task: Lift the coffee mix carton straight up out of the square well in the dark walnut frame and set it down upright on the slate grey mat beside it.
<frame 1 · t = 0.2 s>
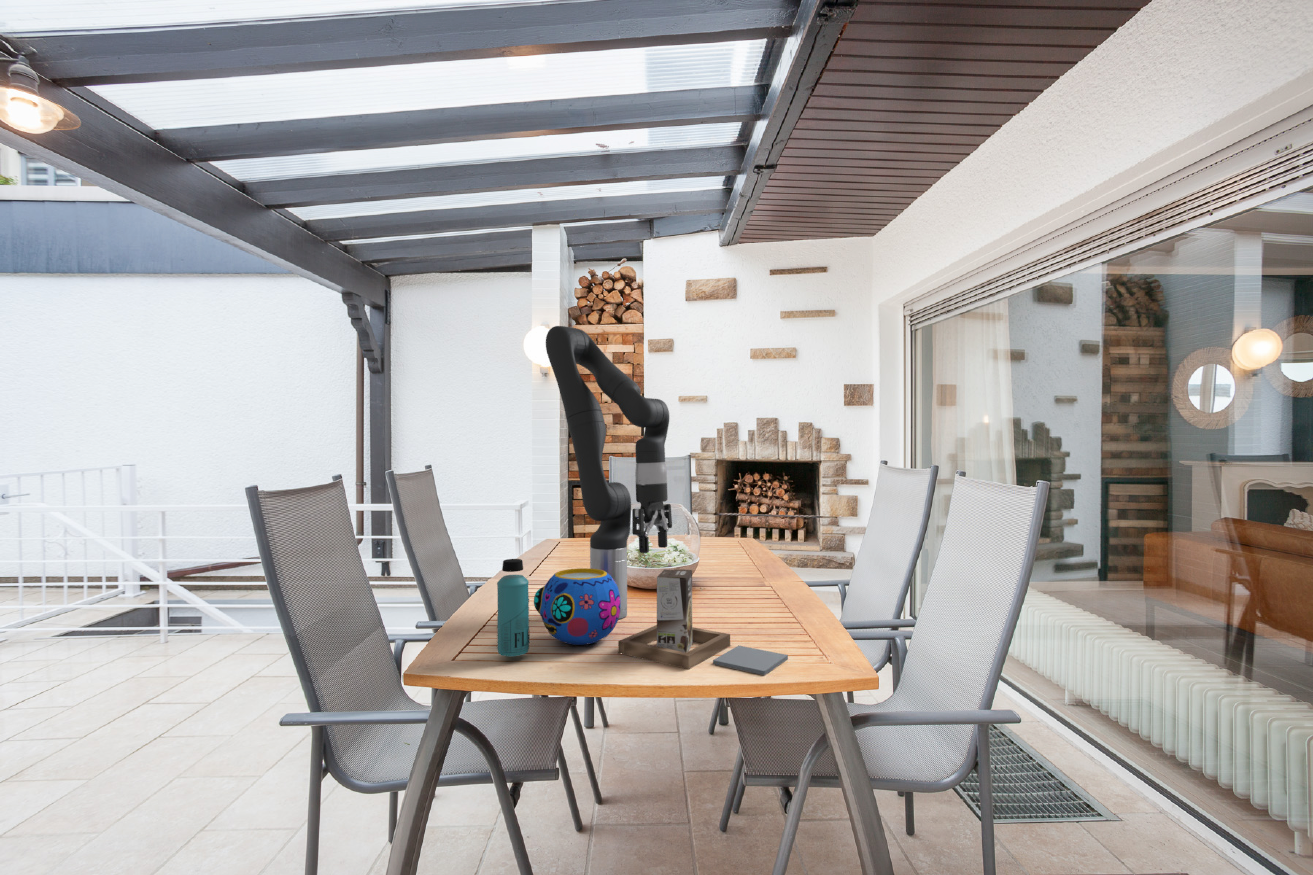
hand: (653, 549, 155), 18 cm above the table, tool pointing down, fingers open, 8 cm apart
slate mat: (750, 661, 129), on the table
coffee box: (675, 650, 137), resting in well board
ceramic pot: (580, 642, 142), on the table
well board: (675, 649, 137), on the table
beverage bottle: (513, 659, 131), on the table
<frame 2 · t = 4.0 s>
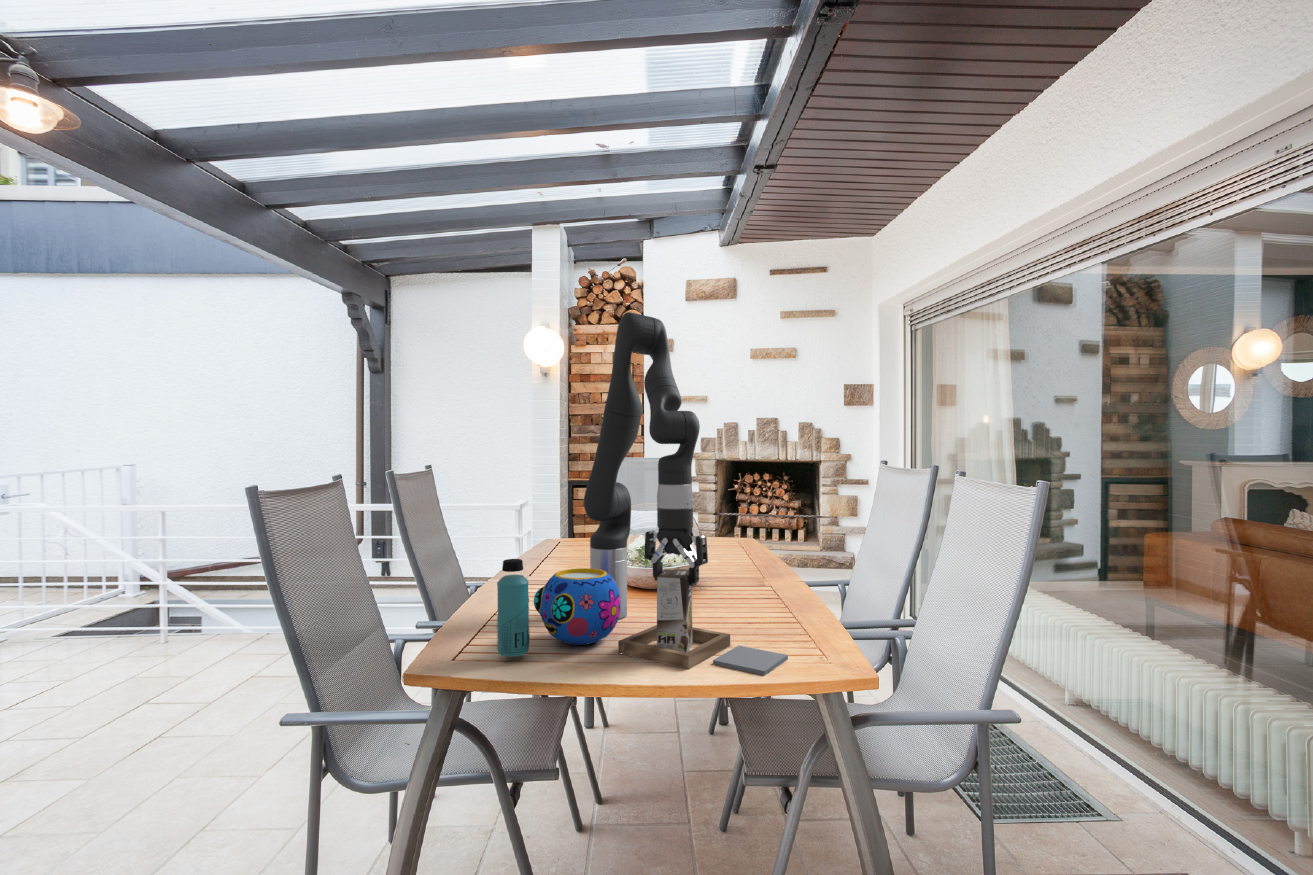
hand: (675, 582, 137), 14 cm above the table, tool pointing down, fingers open, 8 cm apart
coffee box: (675, 650, 137), resting in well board, touching gripper
everything else where it was.
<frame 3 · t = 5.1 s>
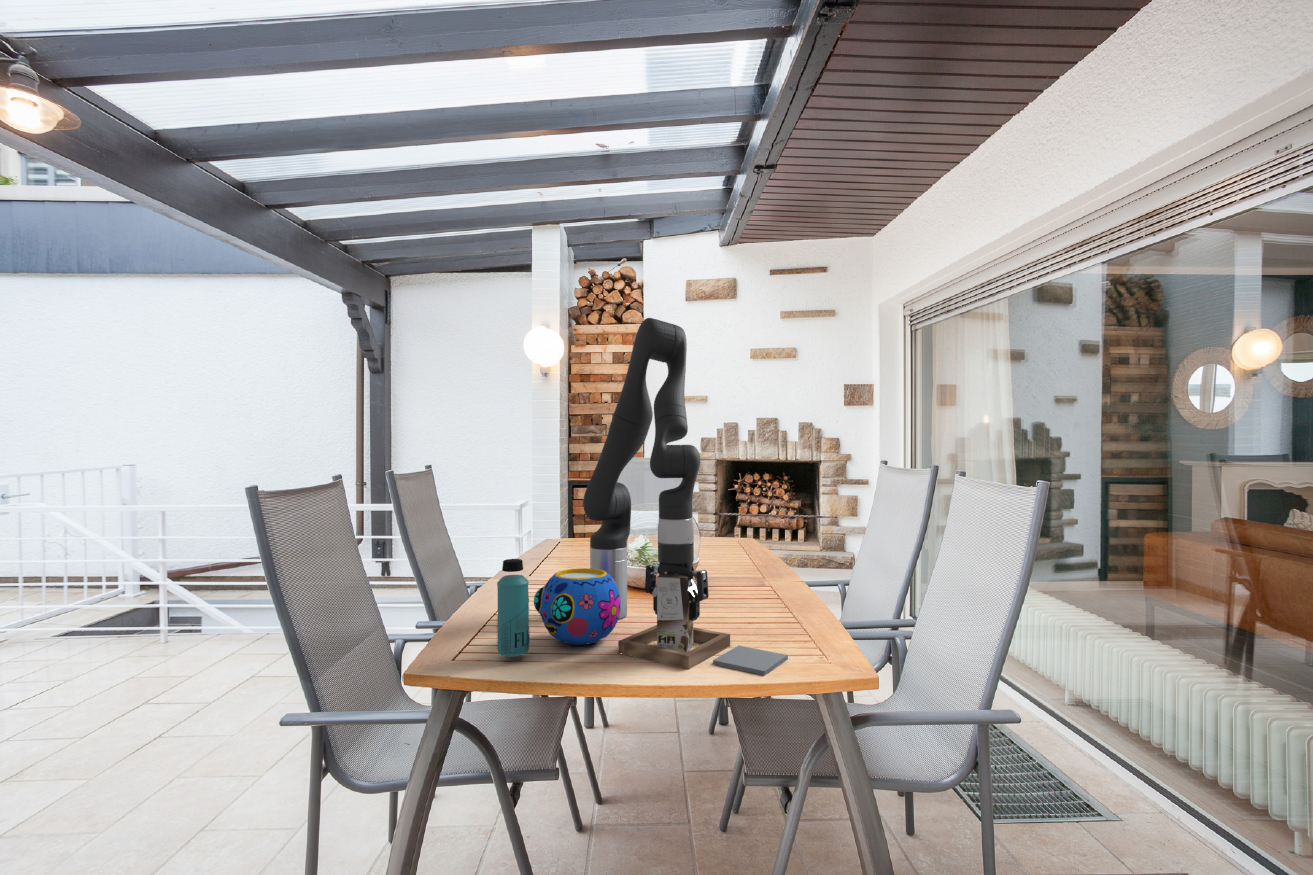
hand: (676, 616, 137), 7 cm above the table, tool pointing down, fingers open, 8 cm apart
nothing on the table moved.
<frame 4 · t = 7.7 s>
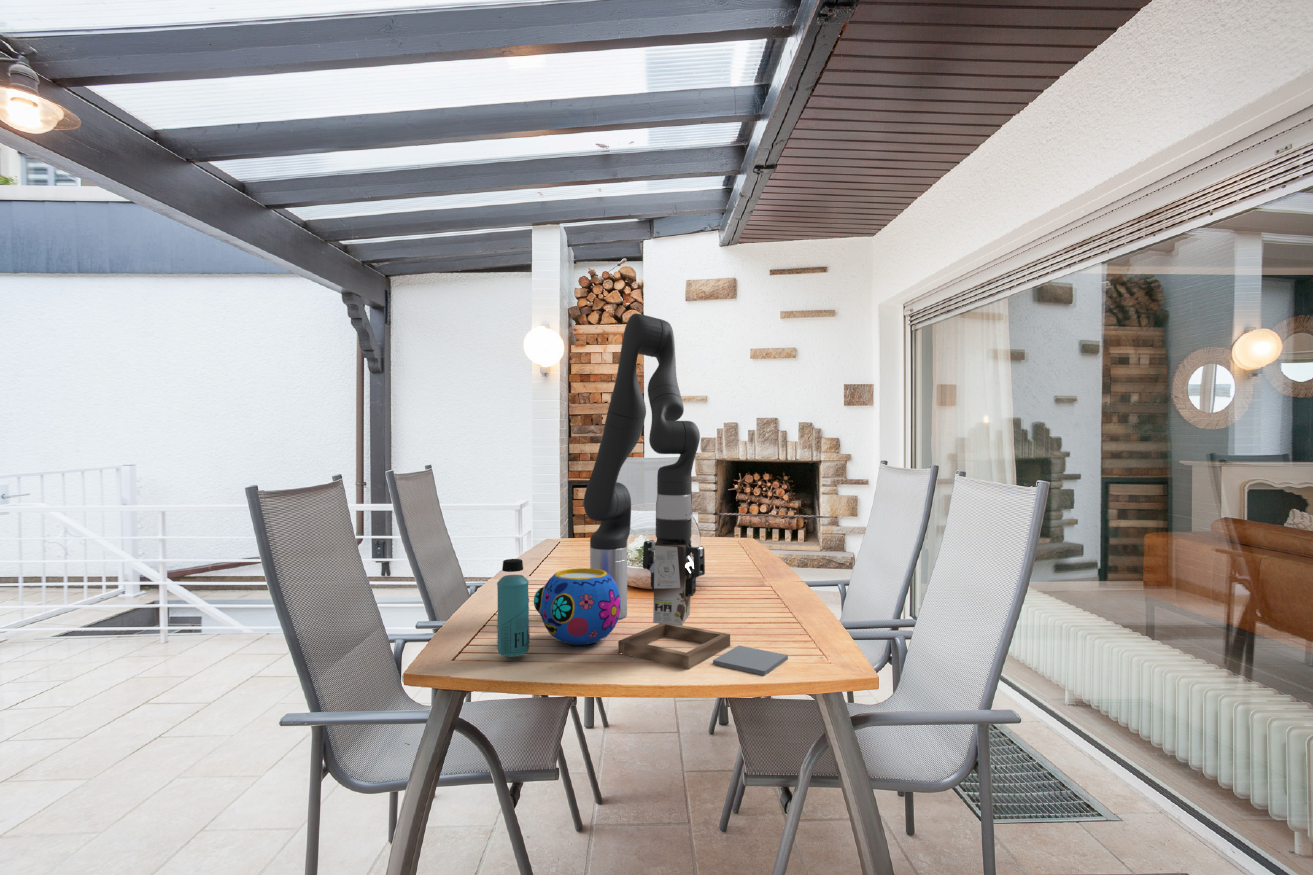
hand: (672, 593, 137), 12 cm above the table, tool pointing down, fingers closed on coffee box, 8 cm apart
coffee box: (672, 619, 137), point 6 cm above the table, touching gripper
everything else where it was.
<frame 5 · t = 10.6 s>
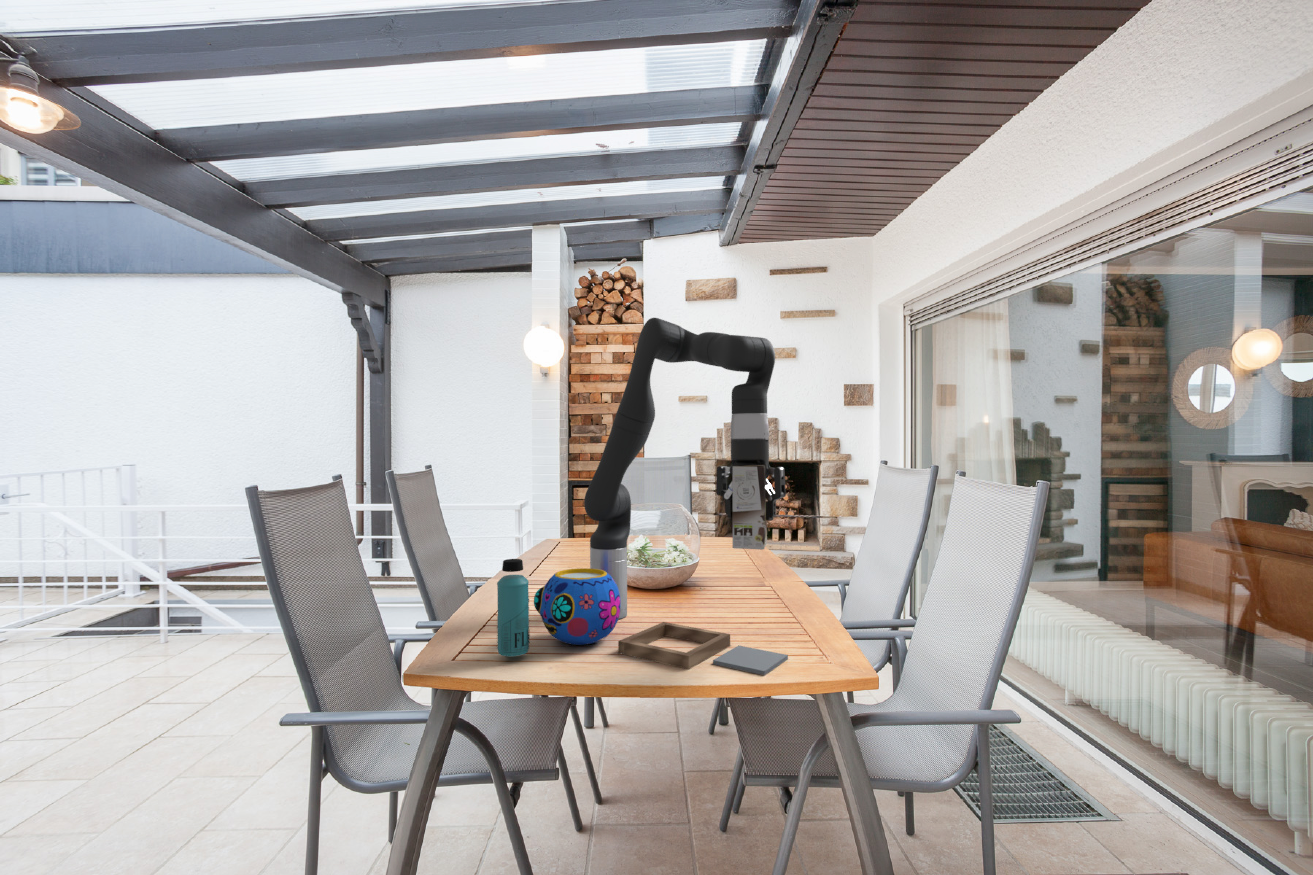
hand: (750, 518, 130), 28 cm above the table, tool pointing down, fingers closed on coffee box, 8 cm apart
coffee box: (750, 546, 130), point 23 cm above the table, touching gripper
everything else where it was.
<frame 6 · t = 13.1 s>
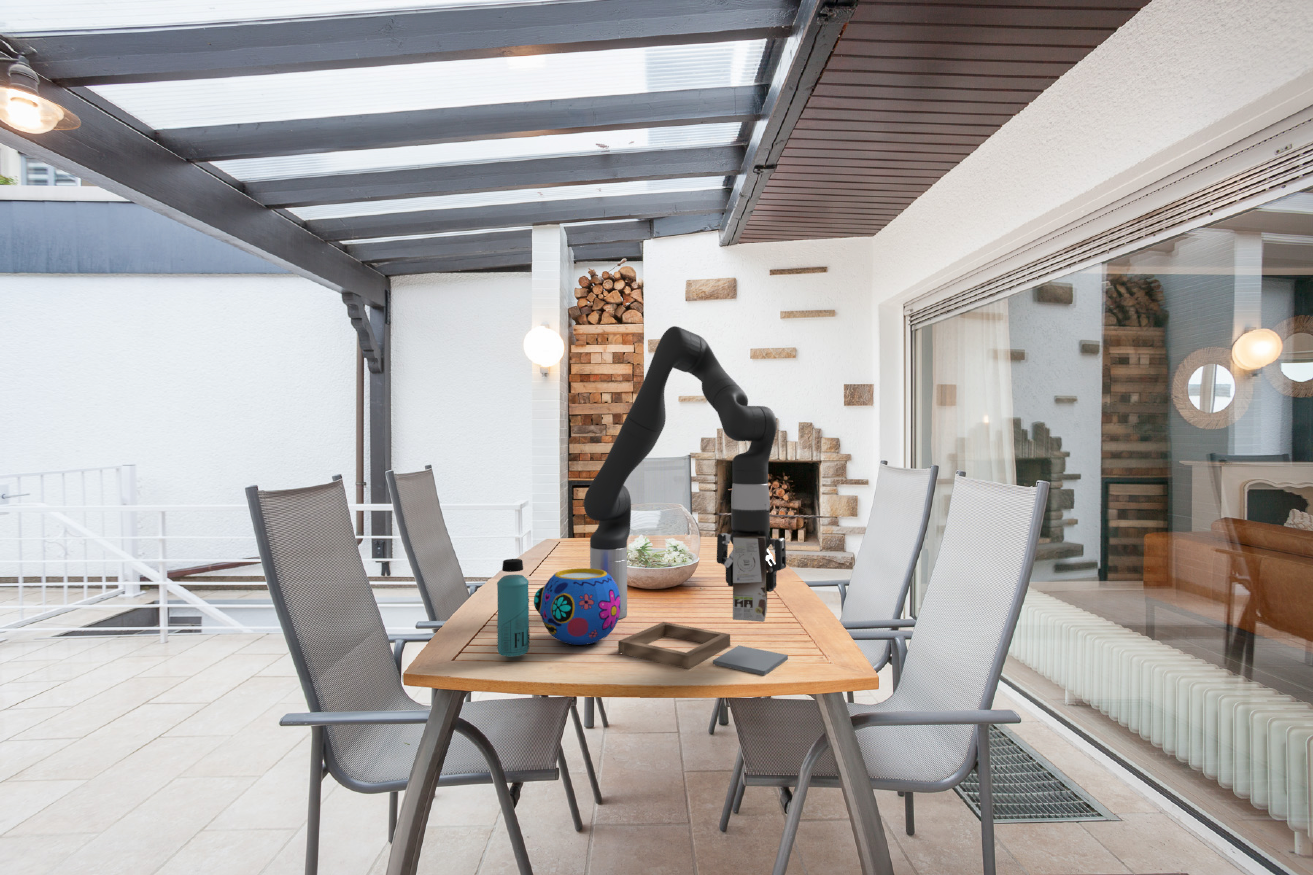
hand: (750, 588, 130), 14 cm above the table, tool pointing down, fingers closed on coffee box, 8 cm apart
coffee box: (750, 616, 130), point 9 cm above the table, touching gripper
everything else where it was.
when the fingers open (7 cm above the table, at t = 15.3 s): coffee box drops 1 cm, resting on slate mat.
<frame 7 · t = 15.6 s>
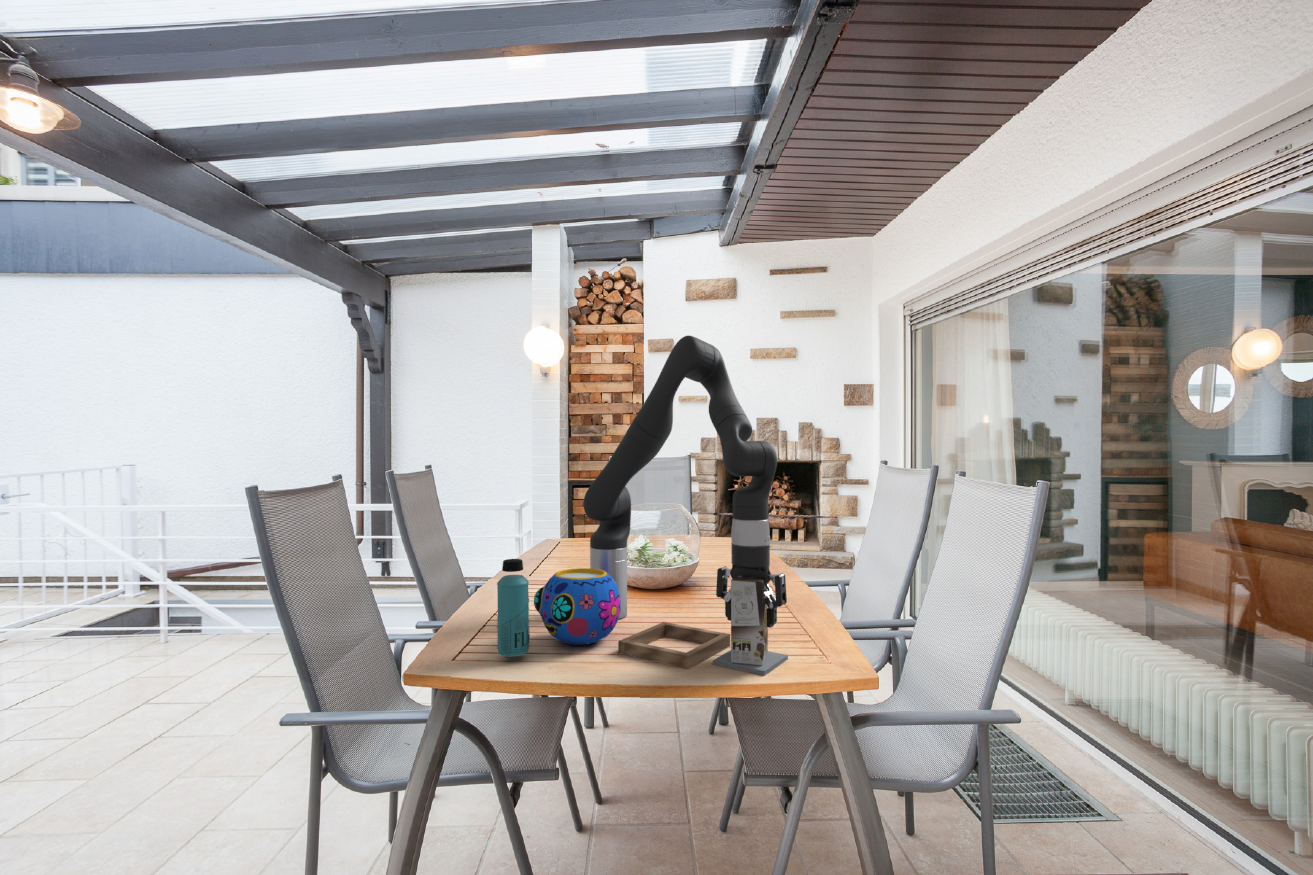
hand: (750, 623, 129), 8 cm above the table, tool pointing down, fingers open, 8 cm apart
coffee box: (750, 658, 130), point 1 cm above the table, touching slate mat
everything else where it was.
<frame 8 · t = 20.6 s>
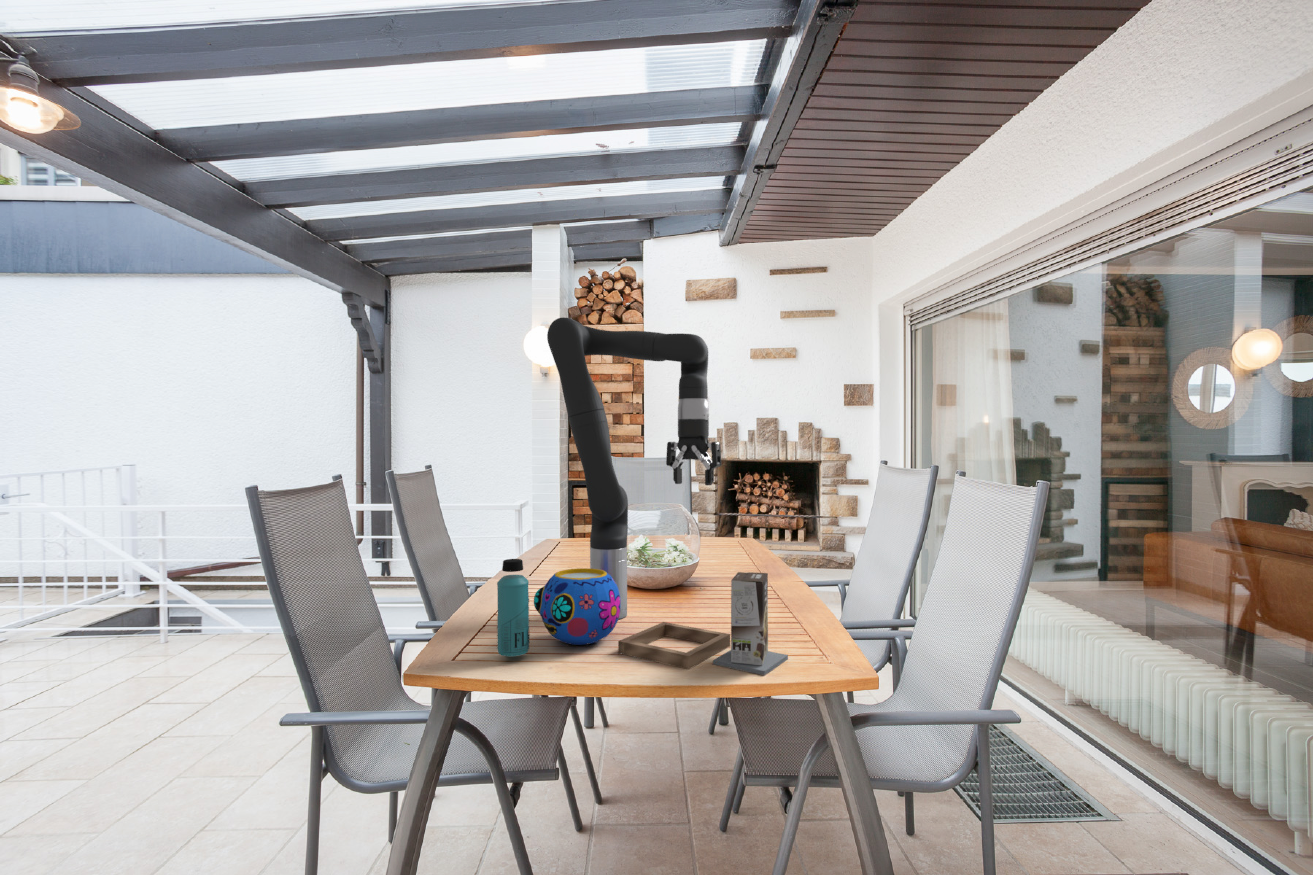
hand: (693, 484, 159), 33 cm above the table, tool pointing down, fingers open, 8 cm apart
nothing on the table moved.
at the end: coffee box inside the target area on the slate mat (0.2 cm from its centre), point 0.6 cm above the slate mat's base; coffee box tilted 0°; the gripper is holding nothing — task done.
